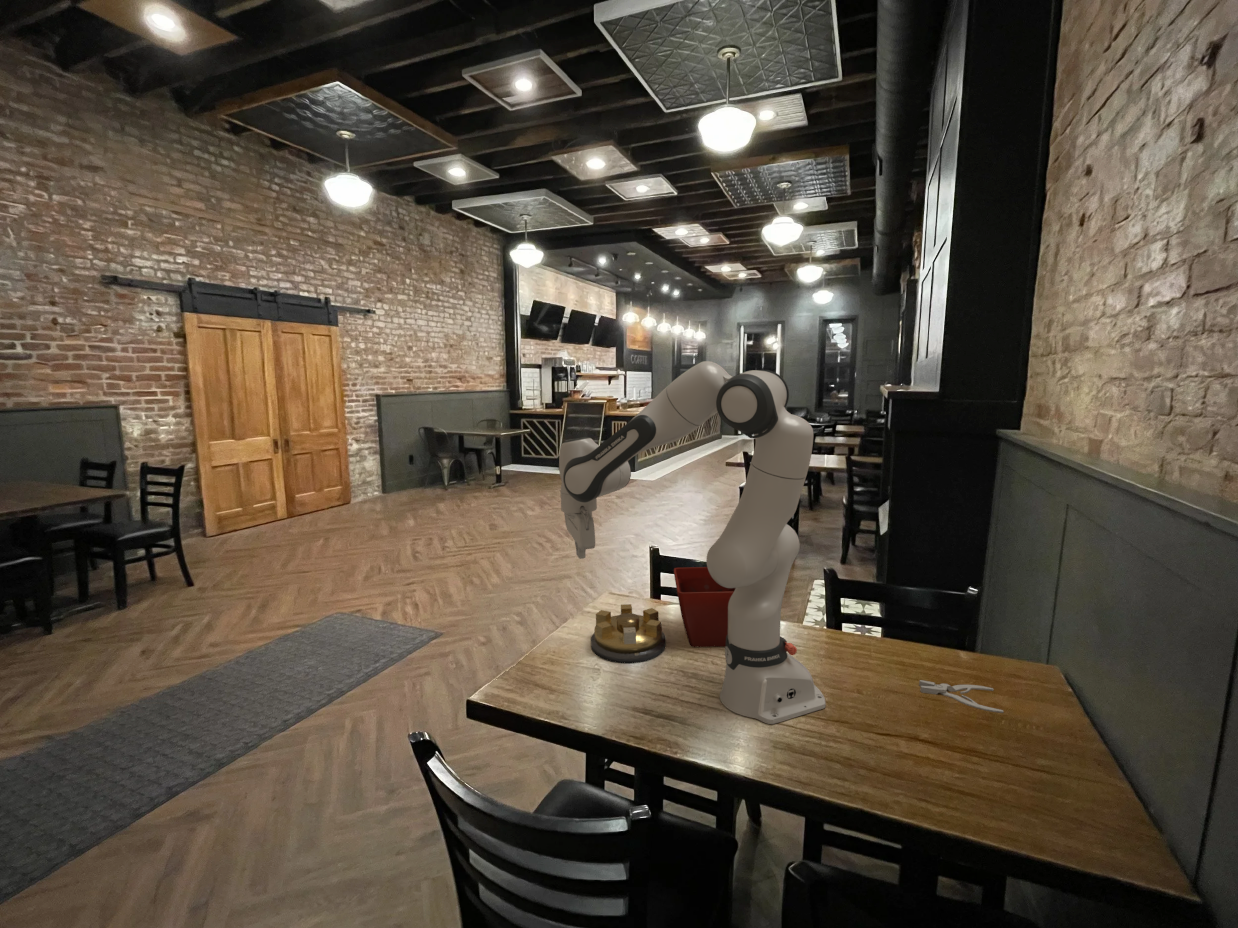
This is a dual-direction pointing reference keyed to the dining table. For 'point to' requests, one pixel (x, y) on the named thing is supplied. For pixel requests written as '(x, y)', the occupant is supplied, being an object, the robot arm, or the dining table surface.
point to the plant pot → (703, 606)
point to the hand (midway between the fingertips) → (580, 556)
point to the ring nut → (628, 630)
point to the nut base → (628, 656)
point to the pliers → (942, 689)
